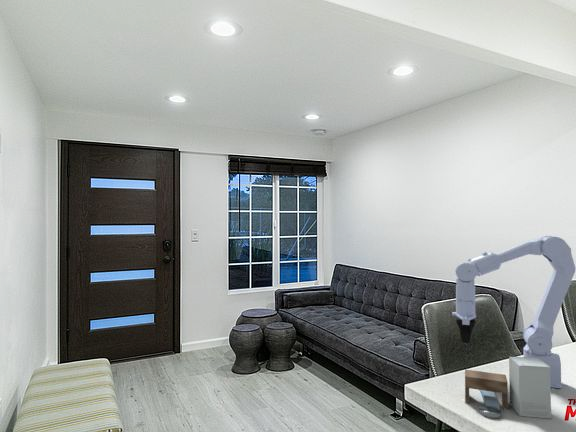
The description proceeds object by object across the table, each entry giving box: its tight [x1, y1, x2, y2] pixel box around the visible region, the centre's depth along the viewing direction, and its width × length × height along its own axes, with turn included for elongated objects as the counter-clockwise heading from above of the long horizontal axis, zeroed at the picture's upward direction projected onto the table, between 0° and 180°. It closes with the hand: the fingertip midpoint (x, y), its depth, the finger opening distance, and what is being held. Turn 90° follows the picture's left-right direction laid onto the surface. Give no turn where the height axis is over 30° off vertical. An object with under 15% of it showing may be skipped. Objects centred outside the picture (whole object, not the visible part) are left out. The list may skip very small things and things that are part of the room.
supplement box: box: [508, 356, 552, 420], centre depth 103 cm, size 7×7×13 cm
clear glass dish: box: [478, 405, 502, 420], centre depth 101 cm, size 5×5×1 cm
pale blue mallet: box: [479, 390, 500, 410], centre depth 110 cm, size 4×16×4 cm, turn 161°
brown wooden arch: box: [464, 368, 509, 410], centre depth 108 cm, size 10×6×7 cm, turn 66°
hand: (465, 342), depth 129 cm, fingers closed
